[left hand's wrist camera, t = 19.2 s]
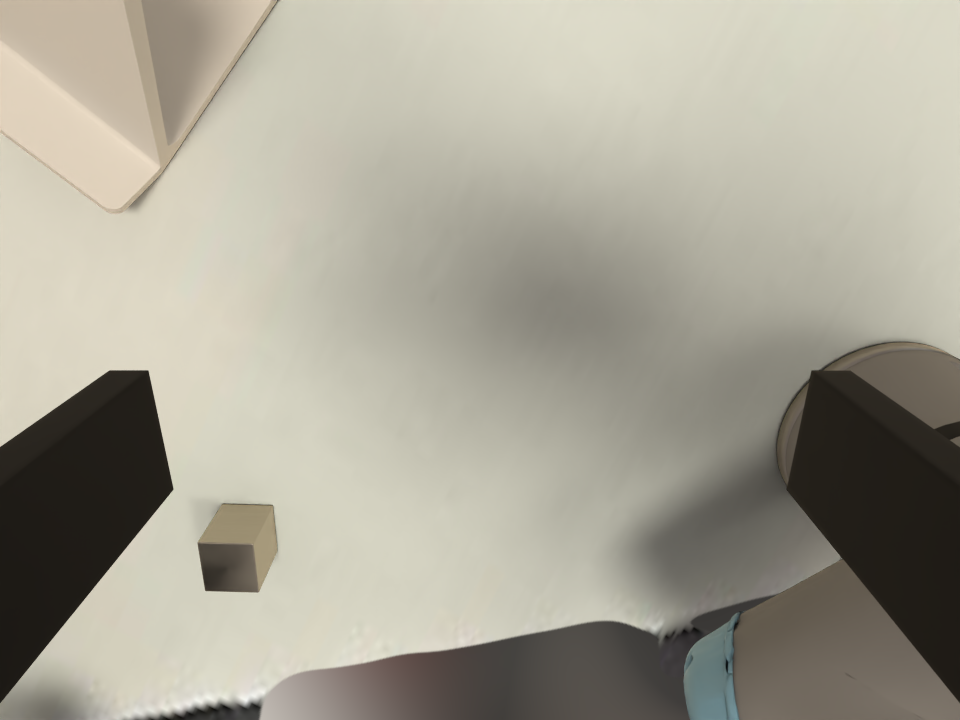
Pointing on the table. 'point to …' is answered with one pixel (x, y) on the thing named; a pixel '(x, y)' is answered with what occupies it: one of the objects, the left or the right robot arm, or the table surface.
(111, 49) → the tablet stand
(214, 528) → the block
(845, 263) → the table surface
